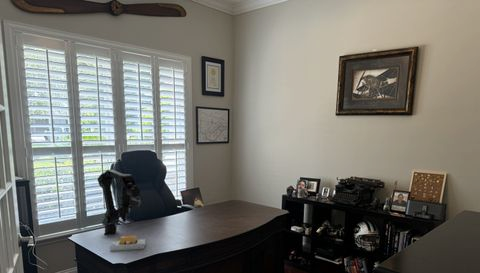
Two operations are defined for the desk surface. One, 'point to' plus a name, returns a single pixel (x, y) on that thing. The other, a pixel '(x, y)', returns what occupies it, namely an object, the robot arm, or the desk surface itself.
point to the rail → (127, 245)
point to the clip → (128, 239)
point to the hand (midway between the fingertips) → (126, 219)
